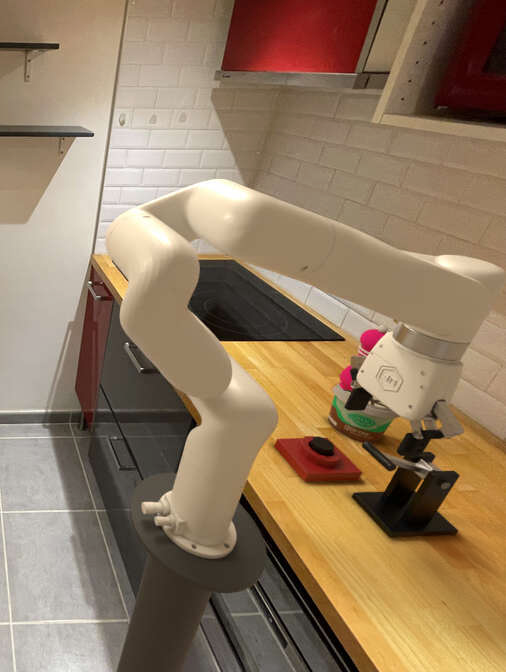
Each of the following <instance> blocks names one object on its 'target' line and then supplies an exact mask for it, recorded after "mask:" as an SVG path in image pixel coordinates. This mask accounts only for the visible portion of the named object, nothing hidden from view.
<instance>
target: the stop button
mask: <svg viewBox="0 0 506 672" xmlns="http://www.w3.org/2000/svg"><path fill="white" fill-rule="evenodd" d="M325 438H326V437H322V436H315V437H313V438H312V441H311V443H310V448H311V449H312V450H313V451H315V452H316V453H318V454H320V455H323V456H331V454H332V452H333V450H334V445H335V444H334V442H332V441H331V440H330V439H329V440H330V441H331V442H330V441H329V440H327V439H325ZM333 444H334V445H333Z"/></svg>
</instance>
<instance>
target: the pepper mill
mask: <svg viewBox="0 0 506 672" xmlns="http://www.w3.org/2000/svg"><path fill="white" fill-rule="evenodd" d="M387 332H389V328H388V327H387V326H386V325H384V324H381V325H378V326H377V328H370V329H366V330H365V331H363V332H362V333H361V335H360V337H359V342H360V343H361V344H359V346H358V348H357V352H358V354H357V356H364V357H367V356H368V355H369V353H370V352H371V350H372V349H373V348H374V346H375V345H376V344H377V343H378V341H379V340H380V339H381V338H382V337H383V336H384V335H385V334H386V333H387ZM350 369H352V367H351V364H349V365H347V366H346V367H345V368H344V369H342V371H341V372H340V374H339V381H340V382H339V383H338V384H339V385H340V387H341V388H343V389H347V390H351V391H352V390H353V388H352V387H351V385H350V384H351V382H352V378H351V374H350Z"/></svg>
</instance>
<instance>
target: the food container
mask: <svg viewBox="0 0 506 672" xmlns="http://www.w3.org/2000/svg"><path fill="white" fill-rule="evenodd" d="M331 391H332V393H333V394H334V395H333V398H332V402H331V406H330V410H329V412H328V413H329V414H328V418H327V421H328V423H329V424H330V425H331V427H332V429H334V430H336V431H337V432H338V433H340V434H341V435H343V436H345V437H347V438H349V439H352V440H355V441H357V442H360V443H364V442H367V441H368V442H370V443H371V444H374V443H377V442H378V441H379V440H380V439H381V438H382V436H384V434H385V432H386V431H387V429H388V428H389V427H390V425H391V424H392V423H393V421H394V420H395V419H397V418H401V417H400V416H399V415H397V414H396V413H395V412H393V411H392V410H391V409H389V408H388V407H387V406H385V405H384V404H383V403H382V402H380V401H379V400H378V399H376V398H375V397H374V396H373V395H372V397H371V399H370V401H369V403H368V405H367V406H366V408H365V410H363V411H360V410H347V409H345V408H344V406H345V404H346V402H347V400H348V398H349V396H350V394H351V392H352V391H351V390H347V389H343V388H341V387H340V385H339V383H337V384H336V385H335V386H334V387H333V388H332V389H331Z"/></svg>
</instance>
